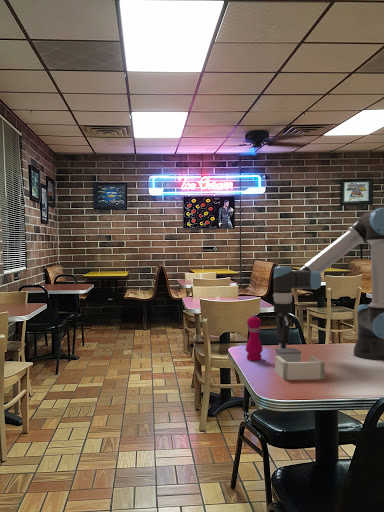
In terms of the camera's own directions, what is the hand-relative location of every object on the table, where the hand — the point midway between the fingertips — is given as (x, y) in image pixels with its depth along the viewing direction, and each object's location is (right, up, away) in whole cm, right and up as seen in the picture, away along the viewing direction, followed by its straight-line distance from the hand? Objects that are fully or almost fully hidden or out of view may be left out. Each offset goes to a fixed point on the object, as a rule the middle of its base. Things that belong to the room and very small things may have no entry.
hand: (282, 358), depth 179 cm
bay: (+2, -1, -20) cm, 20 cm away
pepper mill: (-11, -2, +5) cm, 13 cm away
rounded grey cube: (+1, -2, -7) cm, 7 cm away
